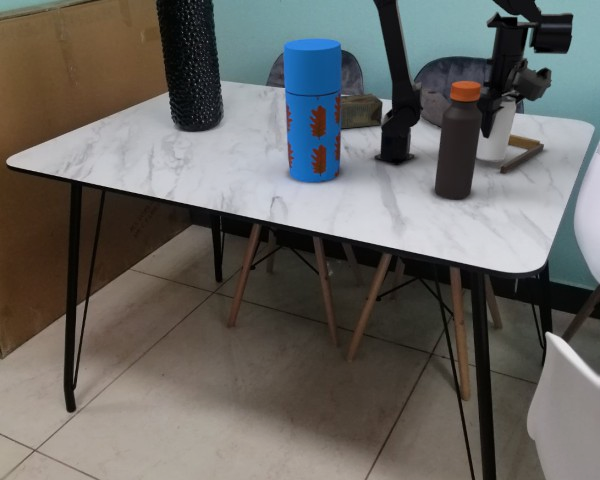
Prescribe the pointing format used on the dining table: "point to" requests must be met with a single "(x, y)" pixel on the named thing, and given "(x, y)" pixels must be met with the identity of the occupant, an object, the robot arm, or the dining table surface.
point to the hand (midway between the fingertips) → (494, 134)
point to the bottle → (459, 141)
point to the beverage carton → (360, 110)
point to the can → (498, 133)
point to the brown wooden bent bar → (526, 143)
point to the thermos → (313, 108)
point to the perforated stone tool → (434, 106)
